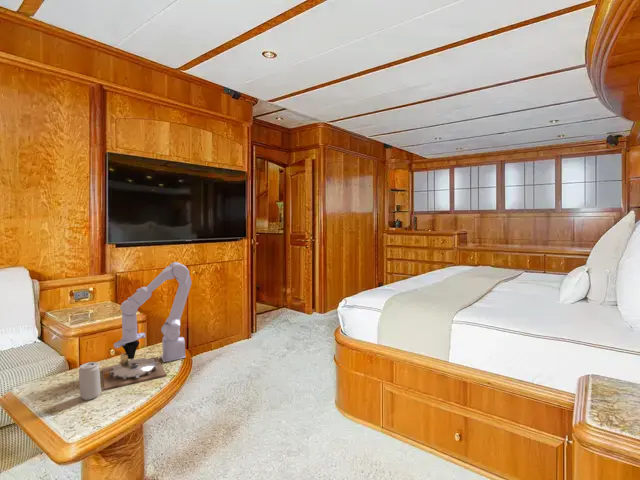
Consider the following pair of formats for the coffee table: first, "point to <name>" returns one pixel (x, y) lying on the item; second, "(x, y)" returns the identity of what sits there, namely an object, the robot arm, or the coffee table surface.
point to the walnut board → (118, 382)
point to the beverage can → (89, 380)
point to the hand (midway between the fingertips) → (131, 358)
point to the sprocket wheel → (133, 367)
